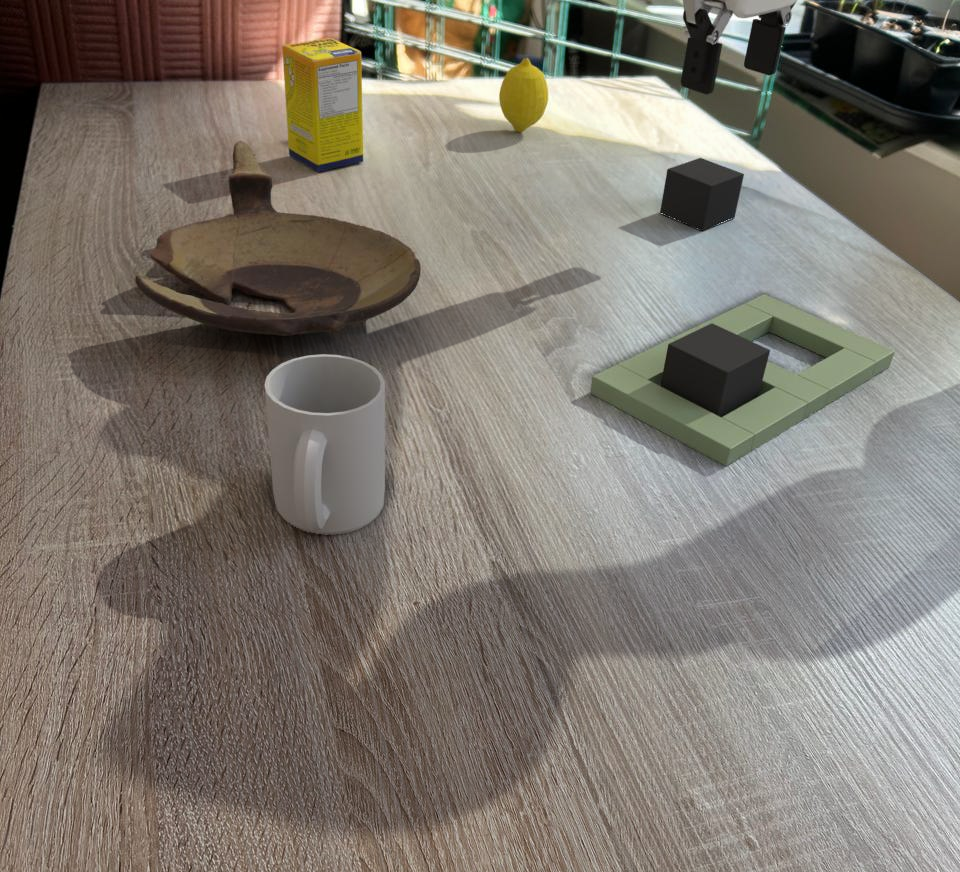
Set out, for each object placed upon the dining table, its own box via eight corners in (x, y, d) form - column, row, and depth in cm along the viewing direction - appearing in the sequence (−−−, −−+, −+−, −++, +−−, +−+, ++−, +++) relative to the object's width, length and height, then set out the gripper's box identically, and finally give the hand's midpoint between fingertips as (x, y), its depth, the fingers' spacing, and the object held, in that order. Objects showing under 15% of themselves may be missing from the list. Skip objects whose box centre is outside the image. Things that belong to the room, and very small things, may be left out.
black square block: (692, 201, 115) (700, 157, 112) (734, 218, 113) (744, 173, 110) (659, 213, 112) (667, 168, 109) (702, 231, 110) (711, 185, 107)
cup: (393, 479, 75) (394, 361, 69) (366, 571, 68) (364, 447, 62) (289, 467, 75) (280, 348, 69) (250, 557, 68) (237, 433, 62)
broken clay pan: (107, 378, 82) (89, 280, 77) (199, 219, 104) (190, 135, 99) (405, 400, 83) (406, 304, 77) (434, 237, 105) (437, 154, 99)
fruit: (519, 143, 125) (526, 67, 120) (487, 129, 128) (491, 54, 123) (554, 134, 128) (562, 59, 123) (521, 121, 131) (527, 47, 125)
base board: (760, 309, 98) (764, 293, 97) (889, 367, 91) (895, 350, 90) (589, 393, 85) (592, 375, 84) (725, 466, 79) (730, 449, 78)
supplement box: (333, 145, 121) (329, 36, 114) (364, 163, 118) (363, 51, 110) (286, 155, 118) (280, 43, 111) (317, 173, 115) (313, 59, 107)
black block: (700, 374, 88) (711, 322, 85) (757, 402, 86) (770, 349, 82) (657, 396, 85) (667, 343, 82) (714, 426, 83) (727, 372, 79)
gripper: (752, -137, 81) (705, 109, 92) (871, -151, 90) (815, 75, 102) (671, -154, 84) (636, 86, 96) (793, -165, 94) (748, 54, 106)
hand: (728, 80), depth 99 cm, fingers open, 9 cm apart
